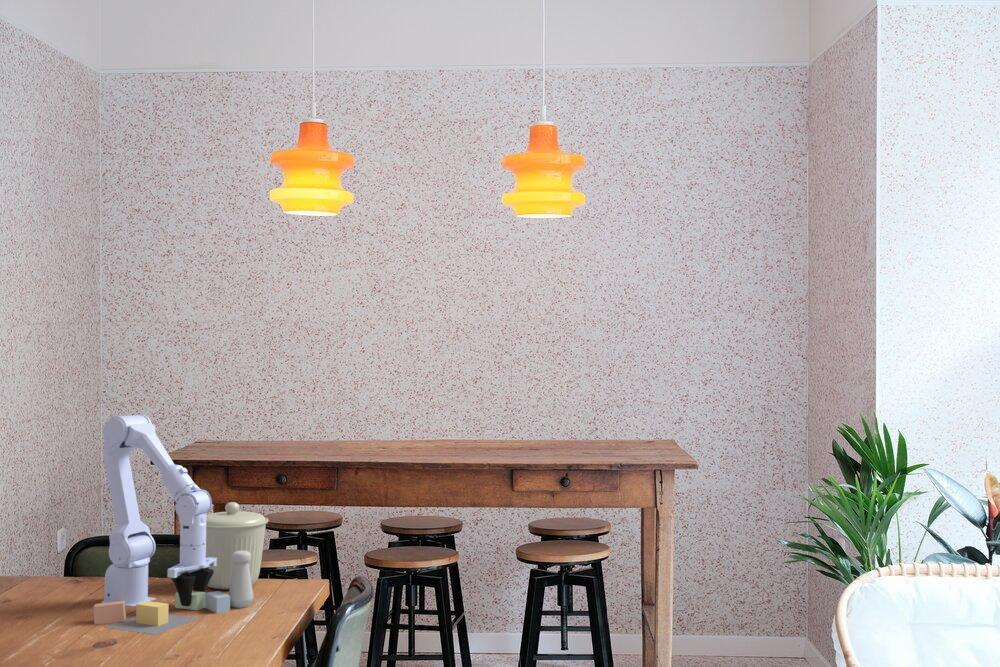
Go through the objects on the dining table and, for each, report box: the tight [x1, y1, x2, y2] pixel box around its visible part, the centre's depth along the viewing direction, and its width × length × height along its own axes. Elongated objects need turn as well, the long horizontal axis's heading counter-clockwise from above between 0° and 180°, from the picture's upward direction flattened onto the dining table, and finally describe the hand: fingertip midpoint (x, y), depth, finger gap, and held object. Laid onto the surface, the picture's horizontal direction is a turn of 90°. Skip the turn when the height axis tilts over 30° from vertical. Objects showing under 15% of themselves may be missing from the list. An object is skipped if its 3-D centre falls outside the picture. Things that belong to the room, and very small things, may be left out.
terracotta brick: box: [93, 601, 127, 625], centre depth 216 cm, size 6×3×4 cm, turn 104°
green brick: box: [174, 590, 207, 611], centre depth 229 cm, size 6×3×4 cm, turn 69°
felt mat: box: [103, 613, 200, 636], centre depth 215 cm, size 14×14×1 cm
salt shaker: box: [227, 551, 254, 609], centre depth 231 cm, size 6×6×13 cm
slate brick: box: [204, 590, 231, 614], centre depth 227 cm, size 6×3×4 cm, turn 41°
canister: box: [206, 501, 269, 591], centre depth 253 cm, size 18×18×21 cm
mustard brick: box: [135, 600, 170, 626], centre depth 215 cm, size 6×3×4 cm, turn 67°
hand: (192, 603), depth 229 cm, fingers open, 4 cm apart
